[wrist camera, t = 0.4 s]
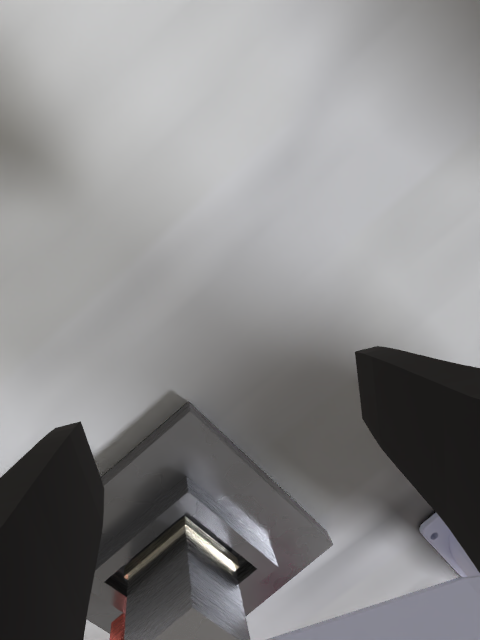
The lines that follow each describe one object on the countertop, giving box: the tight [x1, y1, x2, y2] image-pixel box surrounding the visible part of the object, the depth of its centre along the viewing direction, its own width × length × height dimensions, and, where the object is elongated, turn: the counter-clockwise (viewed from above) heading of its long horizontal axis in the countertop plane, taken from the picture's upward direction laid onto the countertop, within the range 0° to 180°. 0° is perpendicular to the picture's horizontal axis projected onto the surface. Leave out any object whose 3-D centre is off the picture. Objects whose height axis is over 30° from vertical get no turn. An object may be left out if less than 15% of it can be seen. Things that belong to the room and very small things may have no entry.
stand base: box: [86, 402, 333, 640], centre depth 22 cm, size 12×12×4 cm
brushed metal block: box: [124, 515, 250, 640], centre depth 21 cm, size 4×4×5 cm
